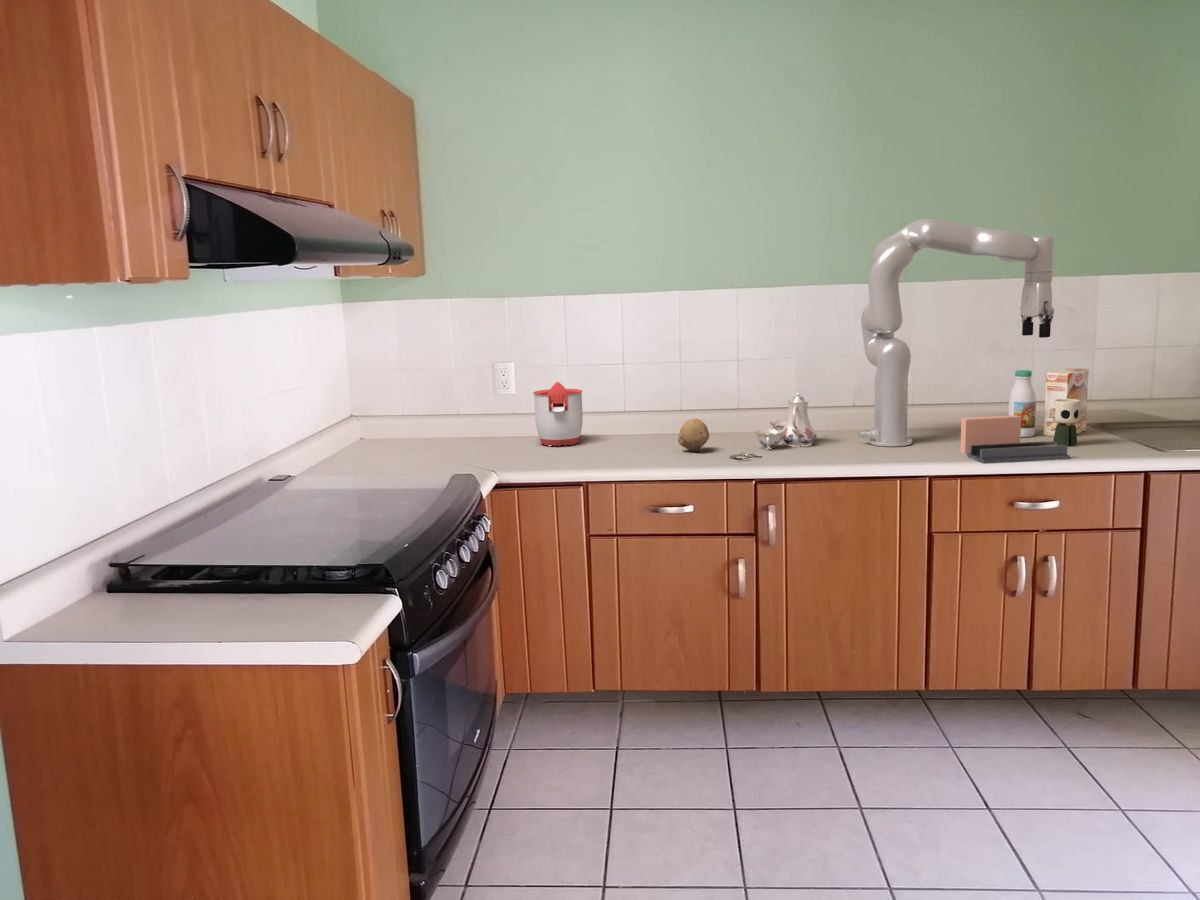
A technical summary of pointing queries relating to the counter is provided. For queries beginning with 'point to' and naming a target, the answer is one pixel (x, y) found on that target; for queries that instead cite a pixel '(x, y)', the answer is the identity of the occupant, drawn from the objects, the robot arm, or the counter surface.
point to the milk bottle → (1023, 402)
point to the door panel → (989, 431)
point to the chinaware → (790, 427)
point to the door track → (1018, 452)
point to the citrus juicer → (558, 415)
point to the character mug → (1066, 419)
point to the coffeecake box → (1065, 394)
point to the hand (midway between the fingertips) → (1035, 336)
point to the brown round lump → (693, 435)
